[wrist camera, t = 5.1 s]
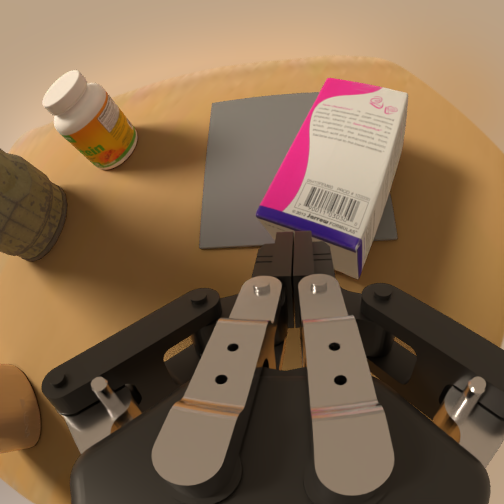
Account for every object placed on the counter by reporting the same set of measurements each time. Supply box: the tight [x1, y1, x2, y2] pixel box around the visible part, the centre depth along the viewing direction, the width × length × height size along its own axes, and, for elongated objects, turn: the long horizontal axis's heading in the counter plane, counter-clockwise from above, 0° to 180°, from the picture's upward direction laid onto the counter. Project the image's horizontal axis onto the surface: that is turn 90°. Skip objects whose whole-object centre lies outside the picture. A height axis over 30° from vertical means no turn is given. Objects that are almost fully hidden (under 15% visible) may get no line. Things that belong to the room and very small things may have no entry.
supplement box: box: [255, 78, 408, 279], centre depth 18 cm, size 6×6×12 cm
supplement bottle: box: [42, 70, 137, 170], centre depth 23 cm, size 5×5×10 cm
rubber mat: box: [199, 92, 398, 249], centre depth 23 cm, size 14×14×1 cm
